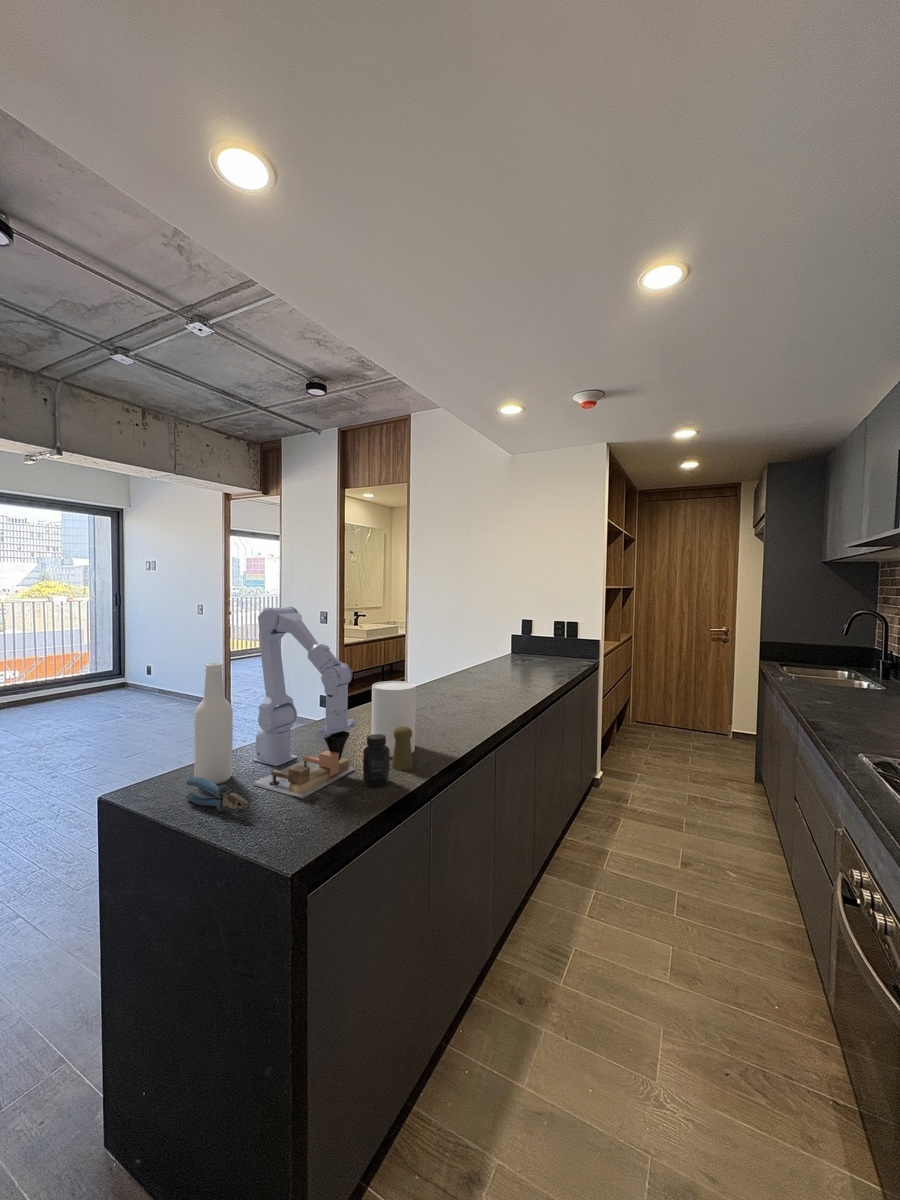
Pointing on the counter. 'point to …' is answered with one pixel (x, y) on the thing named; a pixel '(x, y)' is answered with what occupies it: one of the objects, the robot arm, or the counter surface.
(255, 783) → the flange plate
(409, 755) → the cork
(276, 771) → the bar
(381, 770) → the supplement bottle
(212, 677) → the alcohol
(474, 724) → the counter surface
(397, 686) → the canister
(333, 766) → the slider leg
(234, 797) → the pliers
